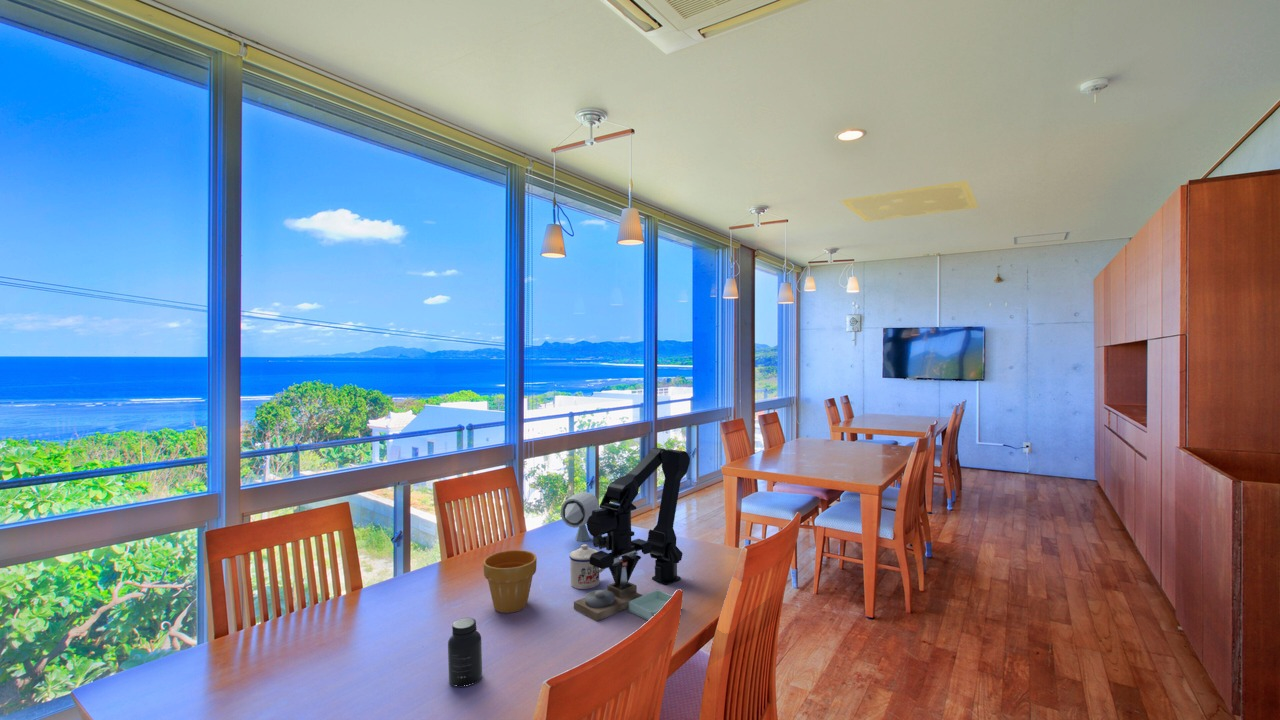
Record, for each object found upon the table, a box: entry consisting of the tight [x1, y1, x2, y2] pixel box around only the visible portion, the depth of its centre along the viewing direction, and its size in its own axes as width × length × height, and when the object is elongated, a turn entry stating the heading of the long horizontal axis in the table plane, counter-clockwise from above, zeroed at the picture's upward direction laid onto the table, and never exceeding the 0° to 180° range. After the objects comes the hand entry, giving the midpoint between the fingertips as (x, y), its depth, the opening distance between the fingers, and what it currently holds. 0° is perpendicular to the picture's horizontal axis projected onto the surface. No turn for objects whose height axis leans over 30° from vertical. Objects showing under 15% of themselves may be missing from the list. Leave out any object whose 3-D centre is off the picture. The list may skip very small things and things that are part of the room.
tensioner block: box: [573, 581, 643, 622], centre depth 151 cm, size 16×10×4 cm, turn 134°
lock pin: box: [617, 558, 628, 590], centre depth 155 cm, size 4×4×9 cm
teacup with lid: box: [569, 543, 605, 590], centre depth 167 cm, size 12×9×12 cm
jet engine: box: [560, 491, 600, 543], centre depth 205 cm, size 15×20×18 cm
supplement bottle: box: [447, 617, 483, 687], centre depth 117 cm, size 7×7×12 cm
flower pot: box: [483, 549, 537, 614], centre depth 152 cm, size 14×14×13 cm
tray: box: [627, 589, 673, 621], centre depth 148 cm, size 11×9×2 cm
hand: (621, 583), depth 155 cm, fingers closed on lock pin, 3 cm apart
